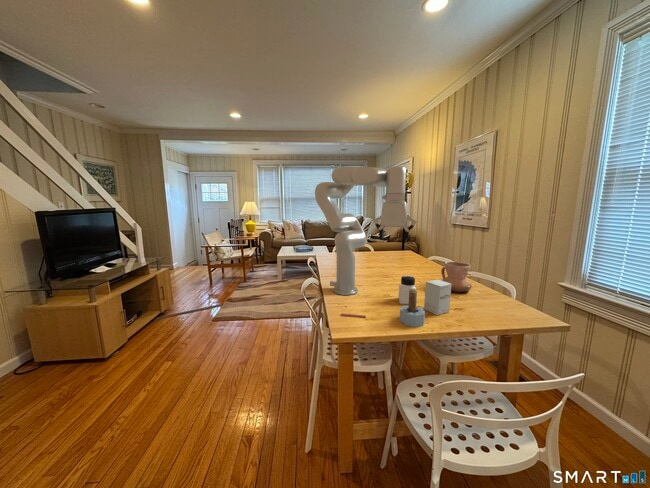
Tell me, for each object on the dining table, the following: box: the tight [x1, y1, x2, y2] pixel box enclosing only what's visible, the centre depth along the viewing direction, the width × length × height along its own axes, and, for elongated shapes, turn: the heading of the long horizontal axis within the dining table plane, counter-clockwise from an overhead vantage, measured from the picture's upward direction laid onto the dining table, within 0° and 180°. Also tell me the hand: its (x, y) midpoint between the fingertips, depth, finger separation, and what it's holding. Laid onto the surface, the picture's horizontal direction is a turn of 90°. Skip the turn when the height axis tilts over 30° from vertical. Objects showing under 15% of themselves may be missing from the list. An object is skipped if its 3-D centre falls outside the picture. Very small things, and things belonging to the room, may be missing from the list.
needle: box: [407, 287, 418, 313], centre depth 98 cm, size 3×3×13 cm
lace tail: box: [340, 313, 367, 318], centre depth 103 cm, size 10×1×1 cm, turn 78°
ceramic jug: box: [441, 260, 473, 293], centre depth 134 cm, size 18×14×14 cm
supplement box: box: [423, 279, 452, 316], centre depth 108 cm, size 7×7×13 cm
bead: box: [399, 305, 426, 328], centre depth 98 cm, size 9×9×5 cm
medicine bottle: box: [398, 275, 417, 305], centre depth 118 cm, size 7×7×12 cm
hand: (393, 240), depth 105 cm, fingers open, 9 cm apart
